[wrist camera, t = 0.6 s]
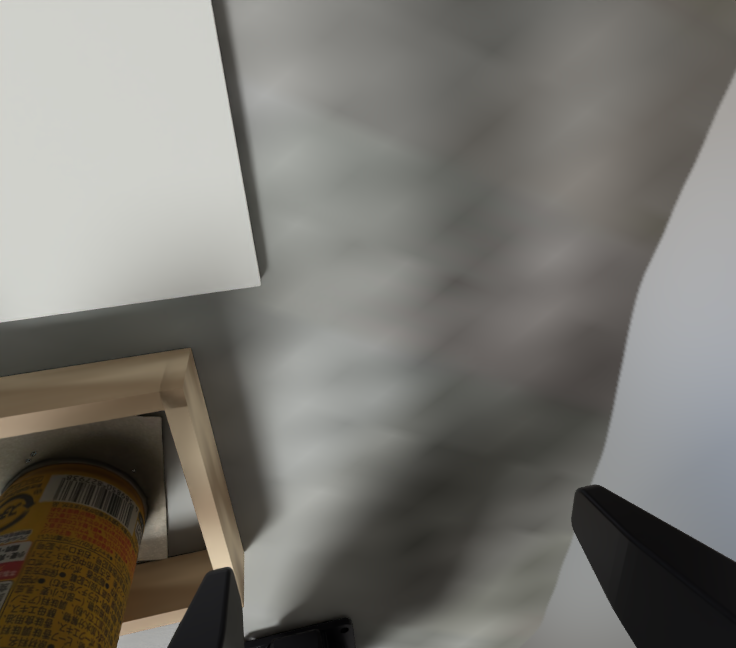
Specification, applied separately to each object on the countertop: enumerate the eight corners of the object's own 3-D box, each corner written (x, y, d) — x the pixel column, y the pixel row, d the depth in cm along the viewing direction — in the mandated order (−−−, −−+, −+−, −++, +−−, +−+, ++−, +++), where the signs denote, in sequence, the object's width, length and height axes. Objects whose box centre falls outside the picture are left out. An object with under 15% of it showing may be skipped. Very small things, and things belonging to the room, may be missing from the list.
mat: (260, 280, 20) (260, 285, 20) (-49, 323, 18) (-57, 330, 18) (199, -66, 15) (197, -71, 15) (-231, -50, 13) (-251, -55, 13)
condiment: (-1, 567, 24) (-201, 966, 13) (-36, 414, 20) (-349, 792, 10) (168, 554, 25) (112, 898, 15) (162, 412, 22) (83, 729, 11)
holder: (244, 553, 26) (243, 674, 21) (-5, 607, 24) (-75, 754, 19) (190, 347, 21) (171, 441, 15) (-136, 398, 19) (-284, 524, 14)
